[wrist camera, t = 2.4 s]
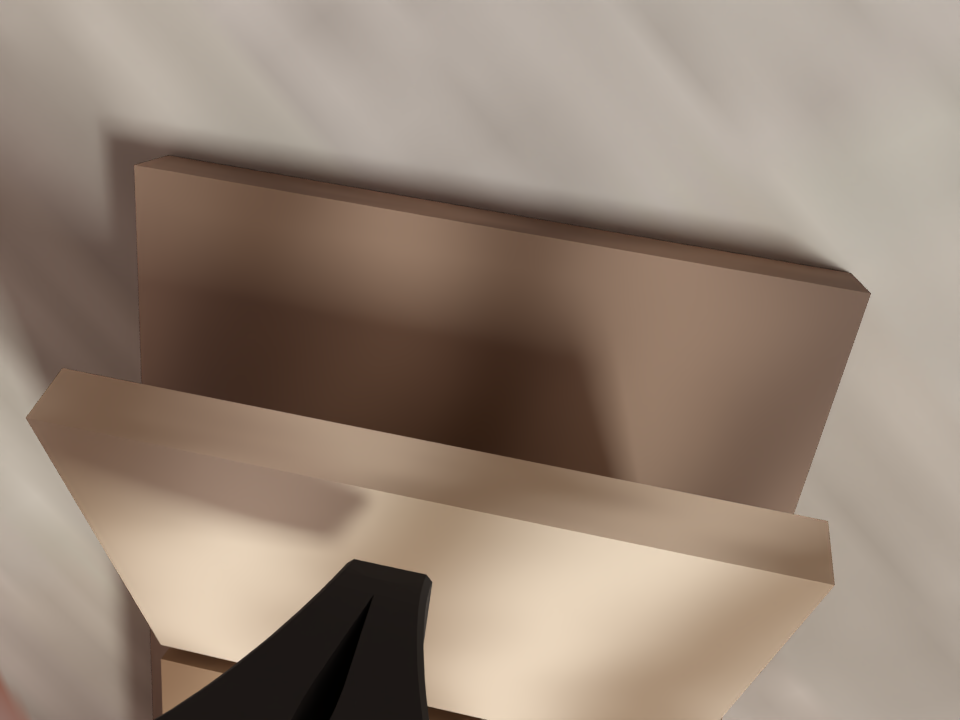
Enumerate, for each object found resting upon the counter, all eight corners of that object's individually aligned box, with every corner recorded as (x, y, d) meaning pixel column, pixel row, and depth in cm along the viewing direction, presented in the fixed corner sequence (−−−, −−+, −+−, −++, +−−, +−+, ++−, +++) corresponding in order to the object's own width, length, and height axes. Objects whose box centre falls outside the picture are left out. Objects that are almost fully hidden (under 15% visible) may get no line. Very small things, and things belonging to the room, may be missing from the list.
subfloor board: (851, 273, 18) (889, 312, 15) (651, 867, 26) (655, 956, 23) (168, 155, 19) (101, 173, 17) (178, 752, 27) (135, 825, 25)
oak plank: (828, 521, 14) (834, 584, 13) (683, 716, 21) (681, 764, 20) (62, 368, 15) (25, 417, 14) (180, 603, 22) (160, 644, 22)
